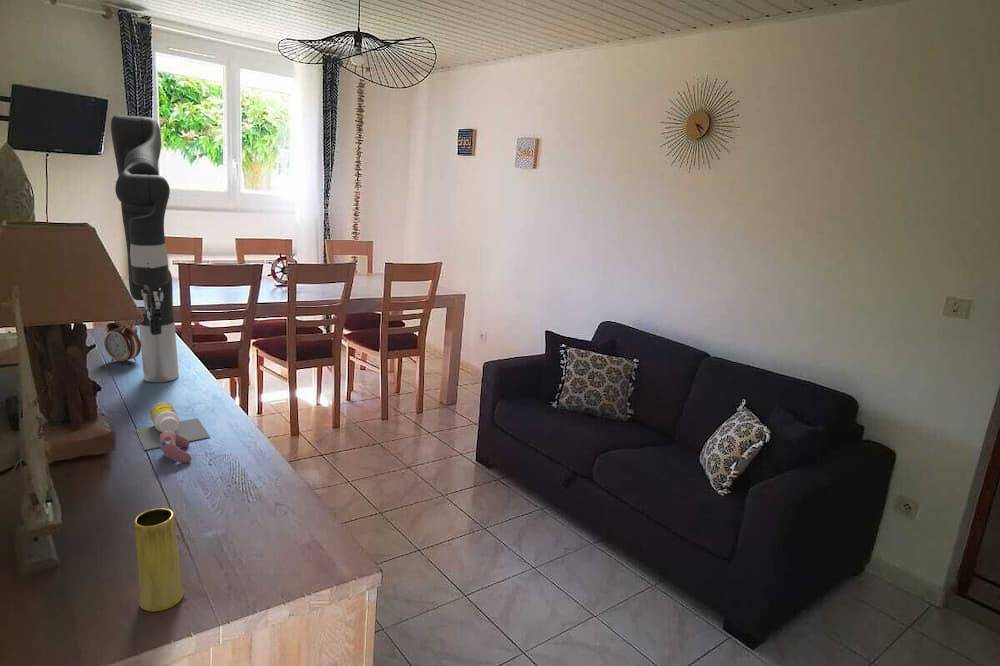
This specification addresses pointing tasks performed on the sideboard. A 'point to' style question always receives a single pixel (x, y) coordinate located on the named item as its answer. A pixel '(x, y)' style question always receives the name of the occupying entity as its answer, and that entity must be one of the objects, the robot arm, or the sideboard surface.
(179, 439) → the video game controller
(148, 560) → the vase
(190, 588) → the sideboard surface
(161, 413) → the supplement bottle
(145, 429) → the mat
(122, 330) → the alarm clock
